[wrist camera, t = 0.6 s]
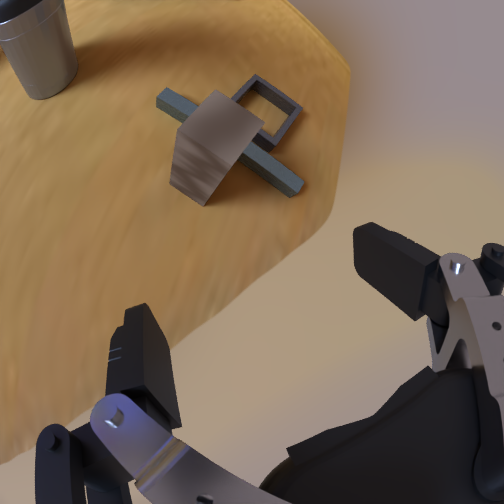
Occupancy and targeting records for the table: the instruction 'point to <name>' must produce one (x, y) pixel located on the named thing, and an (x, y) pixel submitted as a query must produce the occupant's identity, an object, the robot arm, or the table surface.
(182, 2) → the table surface
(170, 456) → the robot arm
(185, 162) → the block
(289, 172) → the keeper
